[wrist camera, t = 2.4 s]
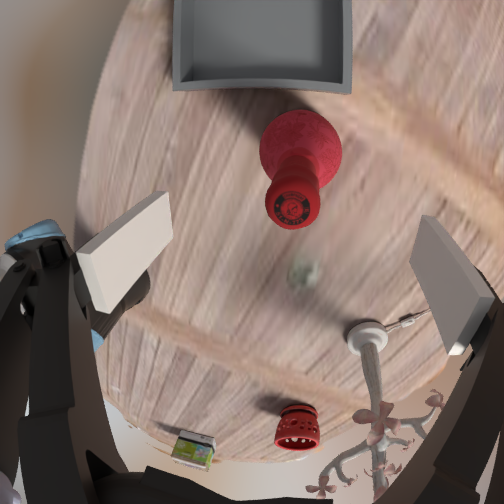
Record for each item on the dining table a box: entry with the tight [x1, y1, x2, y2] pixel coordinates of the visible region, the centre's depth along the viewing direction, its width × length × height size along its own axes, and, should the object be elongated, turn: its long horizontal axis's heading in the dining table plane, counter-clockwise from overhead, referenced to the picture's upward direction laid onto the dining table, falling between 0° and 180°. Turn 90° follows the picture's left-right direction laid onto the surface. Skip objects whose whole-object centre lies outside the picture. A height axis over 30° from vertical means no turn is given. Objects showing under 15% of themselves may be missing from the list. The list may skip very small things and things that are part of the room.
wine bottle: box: [259, 110, 342, 229], centre depth 29 cm, size 10×10×30 cm
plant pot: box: [274, 405, 320, 451], centre depth 73 cm, size 13×13×12 cm
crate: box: [172, 0, 352, 95], centre depth 30 cm, size 24×24×6 cm
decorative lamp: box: [306, 310, 445, 502], centre depth 41 cm, size 28×24×40 cm
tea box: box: [171, 430, 216, 472], centre depth 98 cm, size 15×10×15 cm
